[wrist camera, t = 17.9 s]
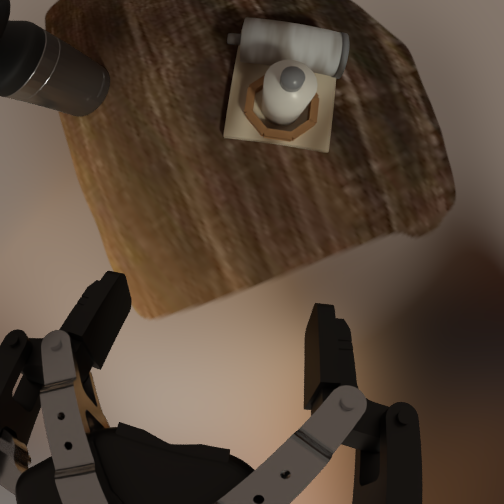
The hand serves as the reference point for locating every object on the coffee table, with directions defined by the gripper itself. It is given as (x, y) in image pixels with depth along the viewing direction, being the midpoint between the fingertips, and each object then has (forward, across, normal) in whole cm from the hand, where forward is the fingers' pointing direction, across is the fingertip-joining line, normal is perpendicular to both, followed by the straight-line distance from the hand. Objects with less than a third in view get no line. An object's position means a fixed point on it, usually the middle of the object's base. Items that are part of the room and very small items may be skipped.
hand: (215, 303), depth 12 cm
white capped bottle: (+32, +1, +4) cm, 32 cm away
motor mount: (+34, +1, +6) cm, 35 cm away
